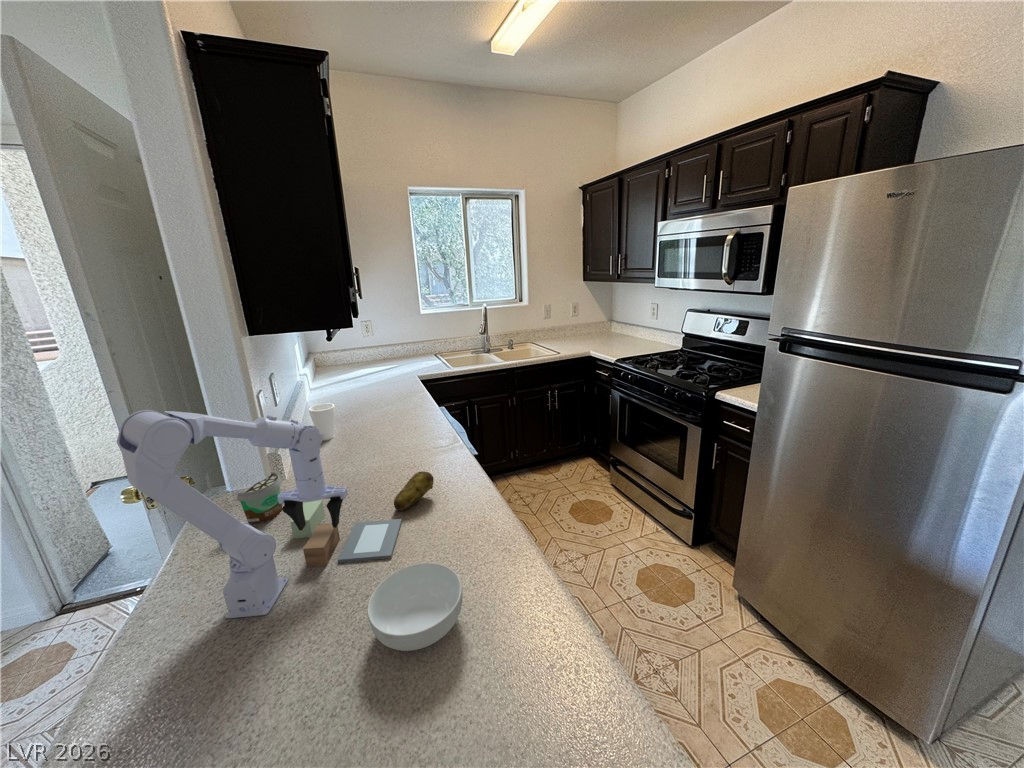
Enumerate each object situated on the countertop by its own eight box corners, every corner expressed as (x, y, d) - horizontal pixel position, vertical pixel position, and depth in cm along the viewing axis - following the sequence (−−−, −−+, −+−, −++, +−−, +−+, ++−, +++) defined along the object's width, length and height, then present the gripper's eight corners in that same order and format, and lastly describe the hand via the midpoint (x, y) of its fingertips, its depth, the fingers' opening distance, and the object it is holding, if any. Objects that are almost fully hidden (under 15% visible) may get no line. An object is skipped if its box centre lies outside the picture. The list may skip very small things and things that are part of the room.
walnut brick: (327, 565, 90) (323, 547, 89) (306, 567, 90) (303, 549, 89) (340, 540, 99) (337, 522, 98) (321, 541, 99) (318, 524, 97)
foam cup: (314, 435, 164) (309, 405, 160) (338, 431, 168) (334, 401, 164) (314, 443, 156) (308, 412, 152) (339, 439, 159) (334, 408, 156)
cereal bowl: (426, 577, 86) (423, 550, 84) (482, 617, 76) (480, 587, 74) (354, 632, 73) (348, 601, 71) (409, 688, 63) (404, 654, 61)
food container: (263, 529, 104) (255, 496, 101) (244, 527, 105) (235, 494, 102) (297, 503, 115) (290, 472, 113) (279, 501, 117) (272, 470, 114)
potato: (387, 503, 114) (384, 478, 111) (429, 488, 121) (427, 464, 119) (398, 517, 107) (394, 491, 105) (441, 500, 114) (439, 475, 112)
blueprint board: (391, 558, 92) (390, 555, 92) (338, 562, 91) (337, 559, 91) (402, 521, 105) (401, 518, 105) (355, 525, 104) (355, 522, 104)
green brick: (312, 537, 100) (309, 520, 99) (294, 538, 100) (290, 521, 99) (325, 516, 109) (322, 500, 108) (308, 517, 109) (305, 501, 107)
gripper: (347, 463, 93) (356, 513, 97) (283, 468, 92) (294, 518, 96) (337, 478, 86) (347, 532, 90) (268, 483, 85) (280, 537, 89)
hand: (319, 526), depth 93 cm, fingers open, 7 cm apart
